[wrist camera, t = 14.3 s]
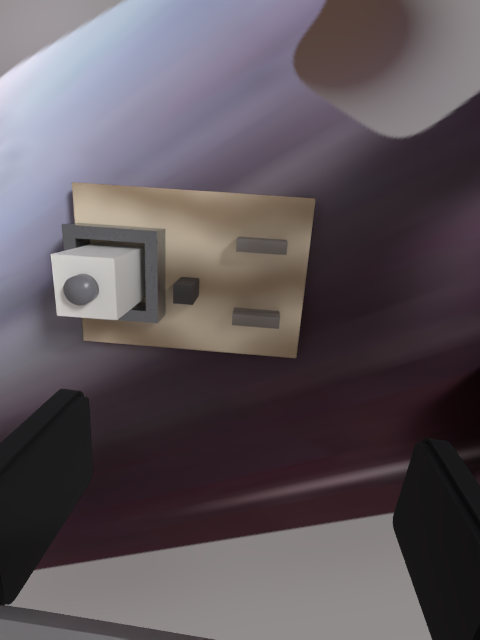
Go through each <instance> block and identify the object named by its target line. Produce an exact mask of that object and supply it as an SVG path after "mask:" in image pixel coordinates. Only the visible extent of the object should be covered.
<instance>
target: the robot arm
mask: <svg viewBox="0 0 480 640" xmlns="http://www.w3.org/2000/svg"><path fill="white" fill-rule="evenodd" d="M92 473H93V467H92V448H91V429H90V410H89V399H88V398H87V397H84V394H83V392H81V391H75V390H68V389H60V390H59V391H57V392H56V393H55V394H54V395H53V396H52V397H51V398H50V399H49V400H48V401H46V402H45V403H44V404H43V405H42V406H41V407H40V408H39V409H38V410H37V411H35V412H34V413H33V414H32V415H31V416H30V417H29V418H28V419H27V420H26V421H24V422H23V423H22V424H21V425H20V426H19V427H18V428H17V429H16V430H15V431H14V432H12V433H11V434H10V435H9V436H8V437H7V438H6V439H5V440H4V441H3V442H1V443H0V640H213V639H208V638H201V637H196V636H190V635H184V634H178V633H172V632H166V631H160V630H155V629H149V628H142V627H136V626H130V625H124V624H118V623H112V622H106V621H100V620H94V619H88V618H82V617H76V616H70V615H64V614H58V613H52V612H46V611H39V610H33V609H26V608H18V607H12V606H5V604H8V605H9V604H11V603H12V602H13V601H14V600H15V598H16V597H17V596H18V594H19V592H20V591H21V589H22V588H23V586H24V585H25V583H26V582H27V580H28V578H29V577H30V575H31V574H32V572H33V571H34V569H35V568H36V566H37V564H38V563H39V561H40V560H41V558H42V557H43V555H44V554H45V552H46V550H47V549H48V547H49V546H50V544H51V543H52V541H53V539H54V538H55V536H56V535H57V533H58V532H59V530H60V529H61V527H62V525H63V524H64V522H65V521H66V519H67V518H68V516H69V514H70V513H71V511H72V510H73V508H74V507H75V505H76V504H77V502H78V500H79V499H80V497H81V496H82V494H83V493H84V491H85V490H86V488H87V486H88V485H89V483H90V481H91V478H92ZM393 527H394V531H395V534H396V537H397V540H398V543H399V546H400V549H401V551H402V554H403V557H404V560H405V563H406V566H407V569H408V572H409V574H410V577H411V580H412V583H413V586H414V589H415V592H416V594H417V597H418V600H419V603H420V606H421V609H422V612H423V614H424V617H425V620H426V623H427V626H428V629H429V632H430V634H431V637H432V640H480V485H479V484H478V482H477V481H476V479H475V478H474V476H473V475H472V473H471V472H470V471H469V469H468V468H467V466H466V465H465V463H464V462H463V460H462V459H461V458H460V456H459V455H458V453H457V452H456V450H455V449H454V448H453V446H452V445H451V443H450V442H448V441H445V440H438V439H430V438H425V439H424V440H423V441H422V443H420V442H418V443H417V444H416V445H415V448H414V451H413V454H412V457H411V460H410V464H409V467H408V470H407V473H406V476H405V480H404V483H403V486H402V489H401V492H400V496H399V499H398V502H397V505H396V508H395V512H394V516H393Z"/></svg>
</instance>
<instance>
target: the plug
mask: <svg viewBox="0 0 480 640" xmlns="http://www.w3.org/2000/svg"><path fill="white" fill-rule="evenodd" d="M51 261H52V271H53V281H54V290H55V300H56V310H57V316H68V317H82V318H95V319H108V320H118V319H119V318H121V317H122V316H123V315H124V314H126V313H127V312H128V311H129V310H130V309H132V308H133V307H134V306H135V305H137V304H138V303H139V302H140V301H142V300H143V299H144V298H145V297H146V283H145V246H132V245H117V244H102V243H94V244H90V245H86V246H82V247H78V248H74V249H70V250H65V251H61V252H57V253H53V254H51Z"/></svg>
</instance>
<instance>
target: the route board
mask: <svg viewBox="0 0 480 640" xmlns="http://www.w3.org/2000/svg"><path fill="white" fill-rule="evenodd" d="M72 191H73V204H74V217H75V223H89V224H104V225H118V226H132V227H146V228H160V229H165V316H164V317H163V318H162V319H161V320H160V322H159V323H146V322H133V321H121V320H108V319H95V318H82V324H83V337H84V341H95V342H107V343H119V344H131V345H143V346H155V347H167V348H179V349H191V350H203V351H215V352H227V353H239V354H251V355H264V356H276V357H288V358H296V356H297V348H298V339H299V331H300V323H301V315H302V306H303V298H304V290H305V282H306V274H307V265H308V257H309V249H310V241H311V232H312V224H313V216H314V208H315V200H316V199H315V198H300V197H285V196H270V195H254V194H239V193H224V192H209V191H194V190H179V189H164V188H149V187H134V186H118V185H103V184H88V183H73V182H72ZM94 243H102V244H117V245H132V246H145V243H135V242H121V241H107V240H93V239H90V244H94ZM140 302H144V303H146V297H145V298H144V299H143V300H142V301H140Z"/></svg>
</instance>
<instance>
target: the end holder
mask: <svg viewBox="0 0 480 640" xmlns="http://www.w3.org/2000/svg"><path fill="white" fill-rule="evenodd" d="M62 233H63V244H64V251H65V250H70V249H74V248H78V247H82V246H86V245H90V239H93V240H107V241H121V242H135V243H145V283H146V303H144V302H139V303H138V304H137V305H135V306H134V307H133V308H132V309H130V310H129V311H128V312H127V313H126V314H124V315H123V316H122V317H121V318H119V319H118V320H121V321H133V322H146V323H159V322H160V320H161V319H162V318H163V317H164V316H165V229H160V228H146V227H132V226H118V225H104V224H89V223H70V224H62Z"/></svg>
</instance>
